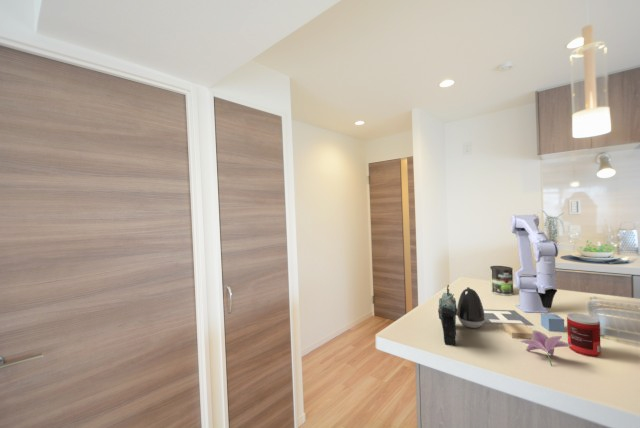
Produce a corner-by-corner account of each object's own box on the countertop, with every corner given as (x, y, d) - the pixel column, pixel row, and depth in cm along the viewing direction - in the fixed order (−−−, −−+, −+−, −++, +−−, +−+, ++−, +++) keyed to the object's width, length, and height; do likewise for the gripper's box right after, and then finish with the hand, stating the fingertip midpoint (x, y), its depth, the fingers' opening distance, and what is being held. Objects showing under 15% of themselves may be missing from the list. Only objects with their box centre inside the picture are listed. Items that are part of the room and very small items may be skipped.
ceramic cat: (459, 349, 91) (456, 292, 90) (438, 345, 93) (436, 290, 93) (456, 325, 109) (454, 277, 108) (439, 323, 111) (437, 276, 111)
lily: (580, 367, 79) (568, 333, 84) (572, 367, 73) (559, 329, 77) (533, 365, 87) (523, 334, 92) (522, 364, 81) (512, 330, 85)
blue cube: (555, 326, 104) (555, 314, 104) (564, 332, 99) (564, 319, 99) (541, 325, 105) (540, 313, 105) (549, 331, 100) (548, 318, 100)
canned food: (590, 346, 89) (589, 313, 89) (607, 358, 81) (606, 323, 81) (562, 343, 91) (561, 312, 91) (576, 355, 84) (575, 321, 84)
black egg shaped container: (483, 321, 111) (481, 286, 111) (487, 332, 101) (485, 293, 101) (456, 318, 115) (454, 284, 115) (457, 328, 106) (456, 291, 106)
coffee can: (517, 295, 140) (516, 269, 140) (496, 295, 141) (495, 269, 141) (507, 289, 150) (506, 265, 150) (487, 289, 152) (486, 265, 151)
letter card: (514, 310, 121) (514, 310, 121) (534, 325, 105) (534, 325, 105) (471, 309, 125) (471, 308, 125) (484, 323, 109) (484, 323, 109)
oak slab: (525, 330, 102) (525, 324, 102) (537, 340, 94) (537, 334, 94) (502, 329, 104) (502, 323, 104) (512, 339, 96) (511, 332, 96)
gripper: (538, 268, 110) (539, 300, 110) (527, 274, 101) (528, 309, 101) (560, 270, 104) (561, 304, 104) (551, 277, 95) (552, 314, 95)
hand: (547, 307), depth 102 cm, fingers closed
